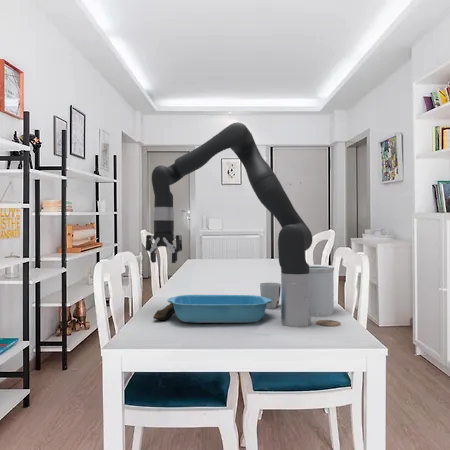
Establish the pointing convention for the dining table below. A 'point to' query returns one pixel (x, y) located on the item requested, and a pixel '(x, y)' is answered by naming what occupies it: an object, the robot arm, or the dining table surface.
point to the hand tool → (165, 312)
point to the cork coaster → (328, 323)
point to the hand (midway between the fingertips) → (163, 262)
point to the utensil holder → (321, 289)
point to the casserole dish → (219, 308)
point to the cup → (271, 293)
